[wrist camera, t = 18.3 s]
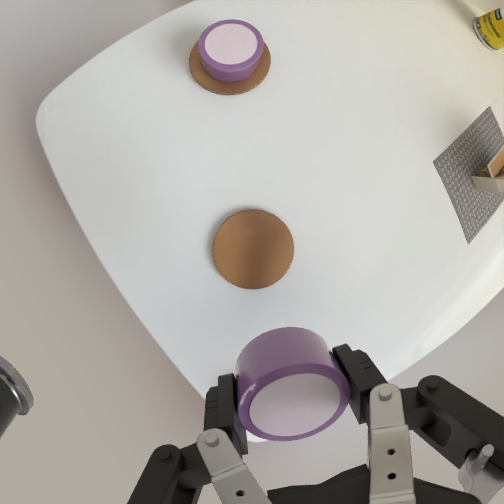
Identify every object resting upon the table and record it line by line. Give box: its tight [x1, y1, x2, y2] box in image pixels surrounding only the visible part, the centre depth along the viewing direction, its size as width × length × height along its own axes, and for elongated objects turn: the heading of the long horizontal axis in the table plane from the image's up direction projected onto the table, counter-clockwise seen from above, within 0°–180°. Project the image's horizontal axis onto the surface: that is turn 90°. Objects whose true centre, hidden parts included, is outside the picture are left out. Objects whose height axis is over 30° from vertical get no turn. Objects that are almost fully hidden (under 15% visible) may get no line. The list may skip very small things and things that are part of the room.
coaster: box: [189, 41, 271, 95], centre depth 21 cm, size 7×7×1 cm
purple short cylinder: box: [198, 20, 264, 82], centre depth 19 cm, size 5×5×3 cm
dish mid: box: [235, 327, 350, 441], centre depth 12 cm, size 5×5×3 cm
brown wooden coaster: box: [213, 210, 294, 289], centre depth 25 cm, size 7×7×1 cm
